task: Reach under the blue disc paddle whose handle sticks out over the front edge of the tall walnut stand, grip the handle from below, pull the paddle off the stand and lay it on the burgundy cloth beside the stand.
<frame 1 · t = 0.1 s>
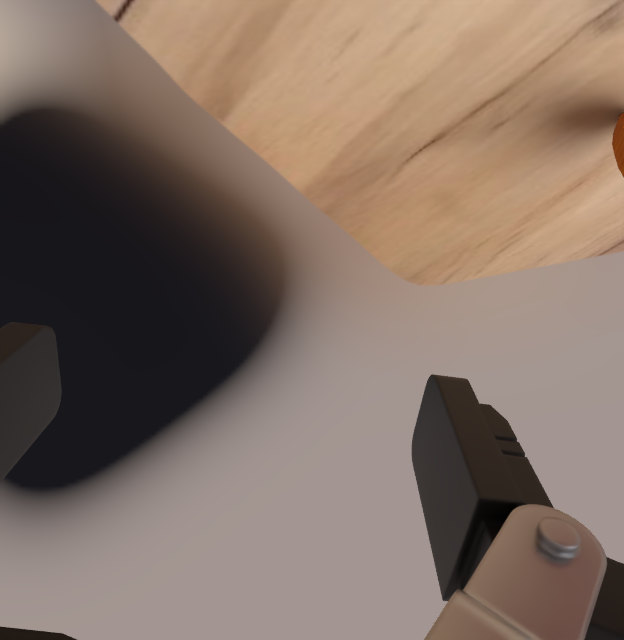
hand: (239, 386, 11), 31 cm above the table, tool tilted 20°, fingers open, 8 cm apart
carrot: (623, 114, 37), on the table
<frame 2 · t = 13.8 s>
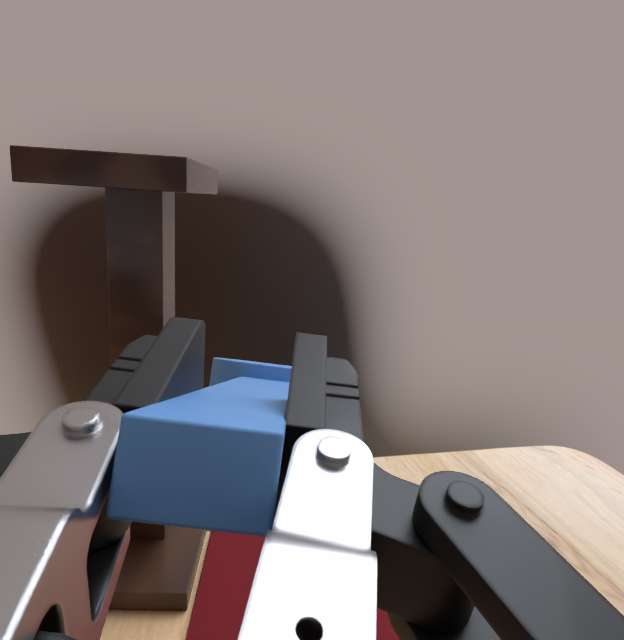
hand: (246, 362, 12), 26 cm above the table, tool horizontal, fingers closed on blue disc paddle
stand: (141, 553, 43), on the table
blue disc paddle: (245, 439, 14), point 23 cm above the table, tilted 18°, touching gripper
cloth: (294, 596, 39), on the table
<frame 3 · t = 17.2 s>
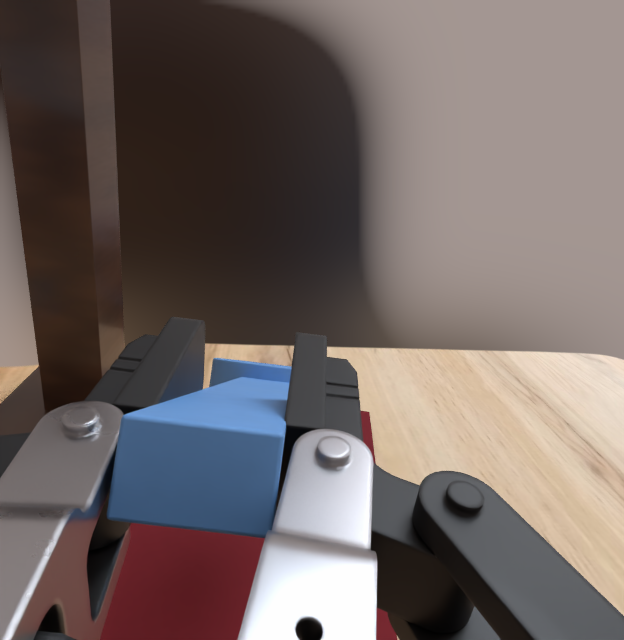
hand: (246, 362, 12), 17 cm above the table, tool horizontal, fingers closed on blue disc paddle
stand: (76, 431, 34), on the table
blue disc paddle: (245, 439, 14), point 14 cm above the table, tilted 30°, touching gripper
cloth: (258, 503, 30), on the table
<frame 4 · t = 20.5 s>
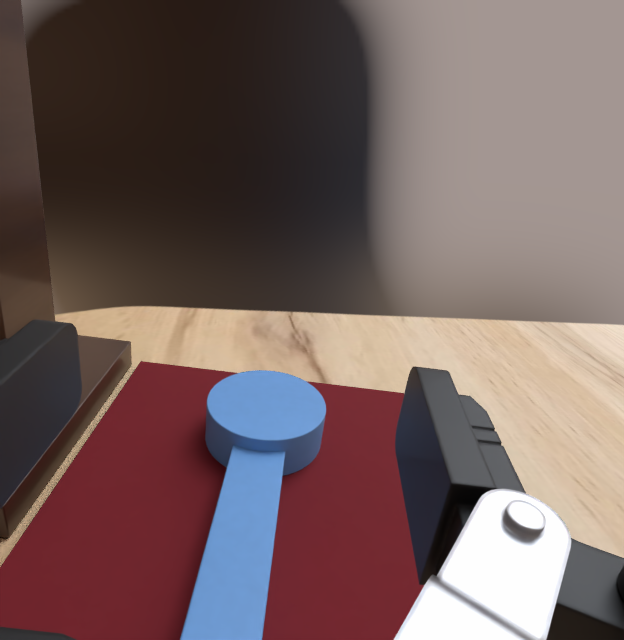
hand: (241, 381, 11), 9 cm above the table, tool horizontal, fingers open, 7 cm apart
blue disc paddle: (225, 638, 15), resting on cloth
cloth: (244, 530, 19), on the table
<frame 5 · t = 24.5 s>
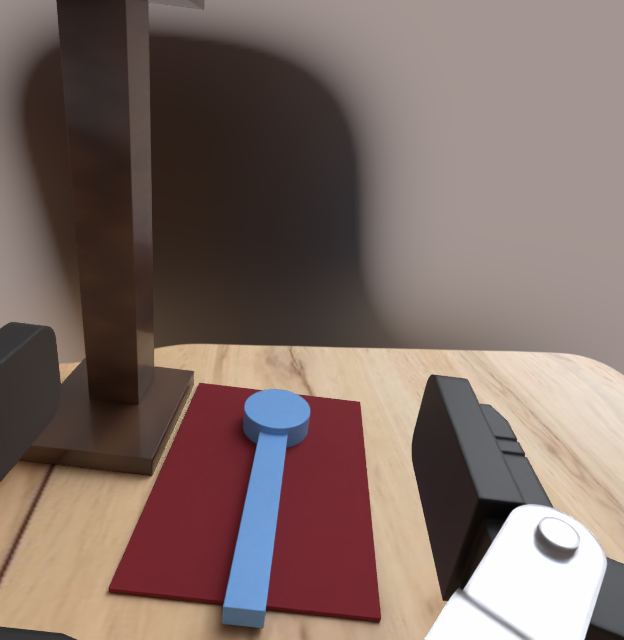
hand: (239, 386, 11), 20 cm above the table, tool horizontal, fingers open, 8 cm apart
stand: (114, 417, 41), on the table
blue disc paddle: (260, 515, 33), resting on cloth
cloth: (266, 473, 37), on the table
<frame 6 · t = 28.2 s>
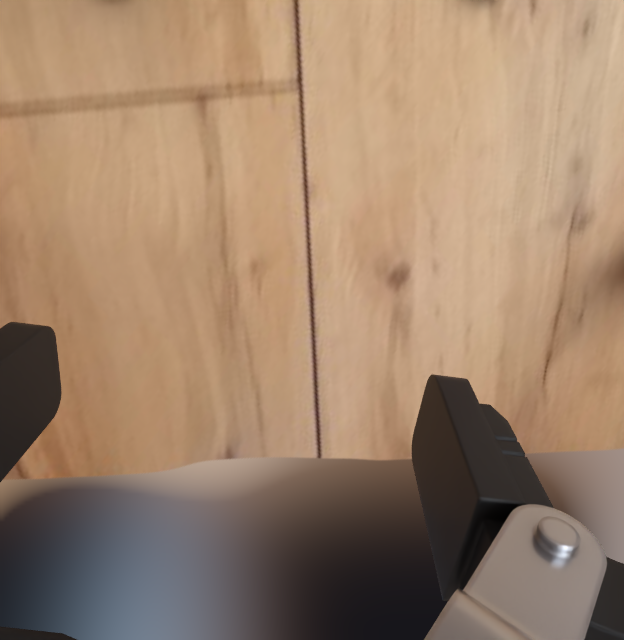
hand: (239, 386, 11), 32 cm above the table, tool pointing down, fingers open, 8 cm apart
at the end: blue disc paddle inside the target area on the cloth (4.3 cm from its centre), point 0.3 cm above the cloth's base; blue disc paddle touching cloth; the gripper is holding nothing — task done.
